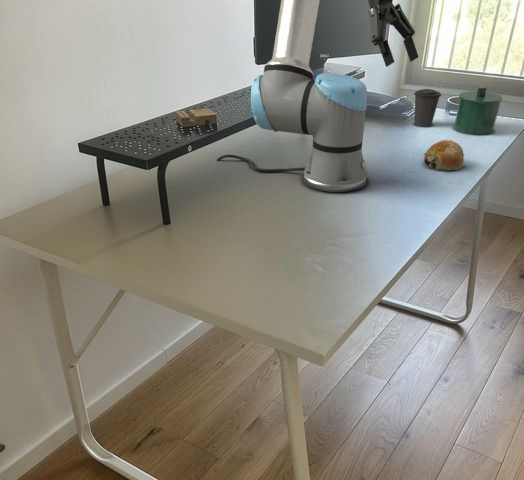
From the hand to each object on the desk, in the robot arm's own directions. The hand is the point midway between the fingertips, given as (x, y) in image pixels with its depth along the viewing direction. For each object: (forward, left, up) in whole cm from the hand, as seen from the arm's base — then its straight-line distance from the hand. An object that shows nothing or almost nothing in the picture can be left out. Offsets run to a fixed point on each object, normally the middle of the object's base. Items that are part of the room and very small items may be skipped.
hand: (402, 62), depth 169 cm
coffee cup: (+10, -1, -17) cm, 19 cm away
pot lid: (+25, +2, -8) cm, 26 cm away
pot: (+25, +2, -17) cm, 30 cm away
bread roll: (+27, -34, -17) cm, 46 cm away
